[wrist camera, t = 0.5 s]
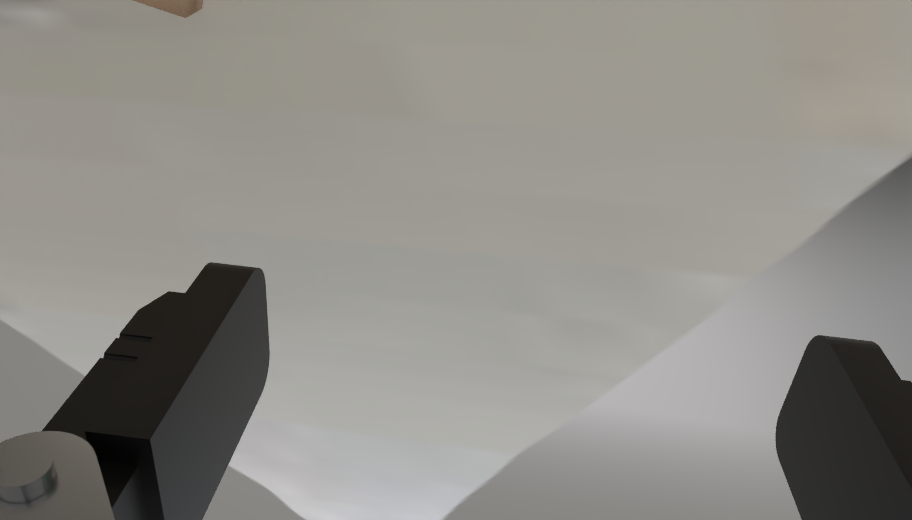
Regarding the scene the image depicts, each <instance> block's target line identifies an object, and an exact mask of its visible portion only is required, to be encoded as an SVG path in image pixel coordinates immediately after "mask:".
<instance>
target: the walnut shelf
mask: <svg viewBox="0 0 912 520" xmlns="http://www.w3.org/2000/svg"><path fill="white" fill-rule="evenodd" d="M134 1H137V2H140V3H143V4H145V5H148V6H151V7H154V8H157V9H160V10H163V11H166V12H169V13H172V14H175V15H178V16H181V17H184V18H186V17H188V16H190V15H191V14H193V13H195V12H197V11H199V10H200V9H202V3H203V0H134Z"/></svg>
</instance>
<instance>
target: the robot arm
mask: <svg viewBox="0 0 912 520" xmlns="http://www.w3.org/2000/svg"><path fill="white" fill-rule="evenodd" d="M269 354H270V353H269V334H268V318H267V301H266V285H265V277H264V273H263V271H262V270H261V269H260V268H254V267H246V266H237V265H229V264H220V263H212V262H211V263H208V264H207V265H206V266H205V267H204V268H203V270H202V271H201V272H200V274H199V275H198V276H197V278H196V279H195V281H194V282H193V283H192V285H191V286H190V287H189V289H188V290H187V291H186V293H178V292H170V291H169V292H167V293H165V294H164V295H162V296H161V297H159V298H157V299H156V300H154V301H152V302H151V303H149V304H148V305H146V306H144V307H143V308H141V309H139V310H138V311H137V313H136V314H135V315H134V316H133V318H132V319H131V320H130V321H129V323H128V324H127V325H126V326H125V328H124V329H123V330H122V331H121V333H120V337H119V338H116V339H115V340H114V341H113V343H112V344H111V345H110V346H109V348H108V349H107V350H106V351H105V353H104V358H100V359H99V360H98V361H97V363H96V364H95V365H94V366H93V368H92V369H91V370H90V371H89V373H88V374H87V375H86V376H85V378H84V379H83V380H82V381H81V383H80V384H79V385H78V386H77V388H76V389H75V390H74V391H73V393H72V394H71V395H70V397H69V398H68V399H67V400H66V401H65V403H64V404H63V405H62V406H61V408H60V409H59V410H58V412H57V413H56V414H55V415H54V416H53V418H52V419H51V420H50V421H49V423H48V424H47V425H46V426H45V428H44V429H43V430H42V431H41V432H33V433H28V434H24V435H20V436H16V437H13V438H10V439H8V440H5V441H3V442H1V443H0V520H202V519H203V517H204V515H205V512H206V510H207V508H208V506H209V504H210V502H211V500H212V498H213V496H214V494H215V491H216V489H217V487H218V485H219V483H220V481H221V479H222V477H223V474H224V472H225V470H226V468H227V466H228V464H229V462H230V460H231V457H232V455H233V453H234V451H235V449H236V447H237V445H238V443H239V440H240V438H241V436H242V434H243V432H244V430H245V428H246V426H247V423H248V421H249V419H250V417H251V415H252V413H253V411H254V409H255V407H256V404H257V402H258V400H259V398H260V396H261V394H262V391H263V389H264V386H265V382H266V378H267V373H268V367H269ZM776 449H777V454H778V458H779V461H780V464H781V466H782V469H783V471H784V474H785V476H786V479H787V482H788V485H789V487H790V490H791V492H792V495H793V497H794V500H795V503H796V505H797V508H798V511H799V513H800V516H801V519H802V520H912V382H911V381H905V380H901V379H900V377H899V376H898V374H897V373H896V371H895V370H894V368H893V366H892V365H891V364H890V362H889V360H888V359H887V357H886V356H885V354H884V353H883V351H882V350H881V348H880V347H879V346H878V345H877V344H876V343H874V342H872V341H864V340H855V339H847V338H838V337H829V336H820V335H818V336H815V337H814V338H813V339H812V340H811V341H810V342H809V344H808V345H807V347H806V350H805V352H804V355H803V357H802V360H801V362H800V365H799V367H798V369H797V372H796V374H795V377H794V379H793V382H792V384H791V386H790V389H789V391H788V394H787V396H786V399H785V401H784V404H783V406H782V409H781V411H780V414H779V417H778V421H777V426H776Z"/></svg>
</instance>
